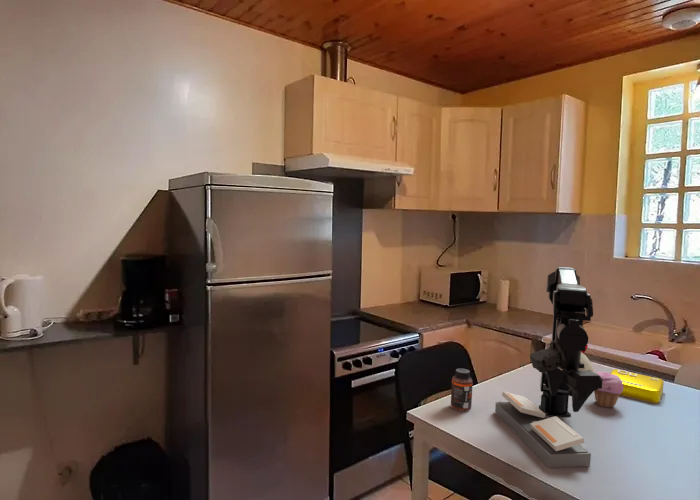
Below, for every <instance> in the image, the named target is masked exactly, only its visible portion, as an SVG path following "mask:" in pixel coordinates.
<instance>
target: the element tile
mask: <svg viewBox="0 0 700 500" xmlns="http://www.w3.org/2000/svg"><path fill="white" fill-rule="evenodd" d="M609 373H610V374H614V375H616V376H618V377H619V378H620V379H621V381H622V383H623V391H622V393H621V394H619V396H623V397H629V398H630V399H631V398H632V399H636V400H640V401H643V402H648V403H653V404H657V403H660V402H661V398H662V396H663V393H664V386H665V385H664V384H665V382H664V380H663V379H662V378H659V377H654V376H649V375H645V374H639V373H635V372H630V371H627V370H625V369H624V370H622V369H615V368H614V369H612V370H611V371H610V372H609Z"/></svg>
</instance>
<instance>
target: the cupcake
mask: <svg viewBox="0 0 700 500" xmlns="http://www.w3.org/2000/svg"><path fill="white" fill-rule="evenodd" d="M610 373H611V372H606V371H605V372H604V371H597V372H596V373H595V374H597V375H599V376H600V377H601V378H602V379H603V386H602V389H598V390H594V391H593V393H594V400H595V402H596V403H597V405H598V406H600V407H604V408H612V407H614V406H616V404H617V402H618V399H619V397H620V395H619V394H621V393H622V391H623V383H622V381H621V379H620V378H619V377H618V376H616V375H614V374H610Z"/></svg>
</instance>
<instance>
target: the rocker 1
mask: <svg viewBox="0 0 700 500" xmlns="http://www.w3.org/2000/svg"><path fill="white" fill-rule="evenodd" d="M501 396H502V397H503V398H504V399H505V400H507V402H510V403H511V404H512V405H513V406H514V407H515V408H516V409H518V410H519V411H520V412H522V413H526V414H530V415H533V416H537V417H541V418H545V416H546V414H547V413H545V412H544V411H543V410H542V409H541V408H539V406H537V405H535V404H534V403H533V402H532V401H530V399H528V398H527V397H526V396H523V395H518V394H515V393H511V392H508V391H504V390H503V391H502V393H501Z"/></svg>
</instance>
